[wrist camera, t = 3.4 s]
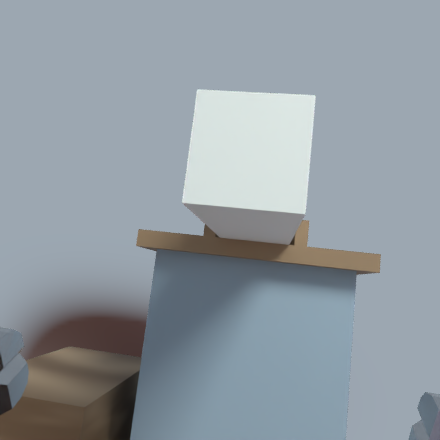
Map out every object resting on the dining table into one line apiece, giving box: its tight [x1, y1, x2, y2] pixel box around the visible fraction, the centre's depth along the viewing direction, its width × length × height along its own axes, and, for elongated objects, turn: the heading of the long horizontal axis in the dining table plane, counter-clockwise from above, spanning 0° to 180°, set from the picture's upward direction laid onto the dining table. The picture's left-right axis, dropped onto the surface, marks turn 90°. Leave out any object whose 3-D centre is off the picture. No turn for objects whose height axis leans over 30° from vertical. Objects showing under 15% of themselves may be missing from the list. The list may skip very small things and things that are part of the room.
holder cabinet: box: [130, 220, 381, 440], centre depth 28 cm, size 16×14×28 cm
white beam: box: [182, 90, 316, 245], centre depth 24 cm, size 24×4×4 cm, turn 173°
